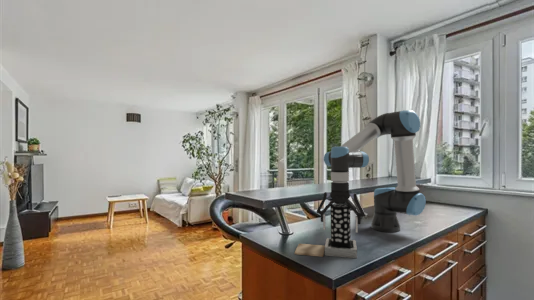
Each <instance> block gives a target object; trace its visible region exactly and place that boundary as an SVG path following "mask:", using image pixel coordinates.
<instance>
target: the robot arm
mask: <svg viewBox="0 0 534 300" xmlns="http://www.w3.org/2000/svg"><path fill="white" fill-rule="evenodd" d="M420 129H421V121H420V117H419V116H418V114H417V113H416V112H415V111H414V110H411V109H410V110H409V109H407V110H399V111H394V112H388V113H387V112H386V113H383V114H381V115H378V116H377V117H375V118H374V119H372V120H370V121H369V122H367V123H366V124H365V125H364V128H363V129H362V130H359V132H357V133H356V134H355V135H354V136H352V137H351V138H349V139H347V141H346V142H344V143H343V144H342V145H340V146H332V147H331V149H330V151H327V152H325V154H324V155H323V162H324V165H325V166H328V167H330V179H331V184H330V188H331V189H330V192H327V191H324V192H323V198H322V200H321V202H320V204H319V205H318V208H317V210H316V213H317V214H318V215H320V222H321V223H322V225H323V227H322V228H323V229H322V230H323V231H325V230H326V213H327V211H328V209H329V208H331V205H332V204H346V205H348V206H349V207H350V210H351V211H353V213H354V214H355V219H354V220H355V233H359V231H358V228H359V227H358V226H359V225H361V217H363V216H365V215H366V213H365V211H364V209H363V207H362V205H361V204H360V202H359V199H358V198H357V197H358V195H357V193H356V192H353V193H350V183H349V181H350V178H349V177H350V174H349V173H350V171H349V170H350V169H355V168H356V169H362V168H366V167H367V166H368V165H369V162H370V158H369V155H368V153H367V152H365V151H361V150H362V149H363V148H364V147H366V145H368V144H369V143H370V142H372V141H373V140H375V139H379V138H380V137H382V136H385V135H386V136H387V135H390V139H392V140H393V141H394V142H393V143H394V151H395V152H394V155H395V164H396V165H395V166H396V167H395V168H396V177H397V178H396V179H397V181H396V182H397V186H396V187H378V188H375V189H374V191H373V209H374V211H373V212H374V213H373V216H372V221H371V222H370V224H371V225H370V227H371V229H372V230H374V231H377V232H385V233H396V232H397V233H398V232H400V231H401V225H400V221H399V219H398V215H397V214H403V215H408V216H415V217H417V216H419V215H421V214H422V213H423V212H424V210H425V207H426V202H427V200H426V196H425V195H424V194H423V193H421V190H420V188H419V187H418V186H417V182H416V181H417V179H416V166H415V153H414V138H415V137H416V136H417V133H418V132H419V131H420ZM329 197H330V198H331V200H330V201H329V202H328V203H327V205H326V206H325V207H324V208H323V206H324V203H325V202H326V199H328V198H329ZM349 198H352V199H353V200H354V202H355V205H356V206H357V207H358V209H357V208H355V207H354V205H353V204H352V203H351V202H350V200H349ZM322 208H323V209H322ZM321 209H322V210H321ZM358 210H359V211H358Z"/></svg>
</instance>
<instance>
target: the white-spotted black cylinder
mask: <svg viewBox="0 0 534 300" xmlns="http://www.w3.org/2000/svg"><path fill="white" fill-rule="evenodd" d="M351 230H352V229H351V208H350V207H349V206H348V205H347V203H344V204H342V203H333V204H332V205H331V206H330V238H331V247H341V248H351V240H352V238H351Z"/></svg>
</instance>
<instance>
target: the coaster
mask: <svg viewBox="0 0 534 300" xmlns="http://www.w3.org/2000/svg"><path fill="white" fill-rule="evenodd" d="M294 255H298V256H299V255H301V256H309V257H310V256H311V257H321V258H323V257H324V256H325V245H324V244H323V245H322V244H310V243H298V245H297V247H296V248H295V251H294Z"/></svg>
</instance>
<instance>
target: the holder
mask: <svg viewBox="0 0 534 300" xmlns="http://www.w3.org/2000/svg"><path fill="white" fill-rule="evenodd" d="M357 247H358V246H357V241H356V239H351V248H341V247H331V237H330V238H329V237H327V238H326V240H325V250H324V256H325V257H337V258H350V259H358V248H357Z"/></svg>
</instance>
